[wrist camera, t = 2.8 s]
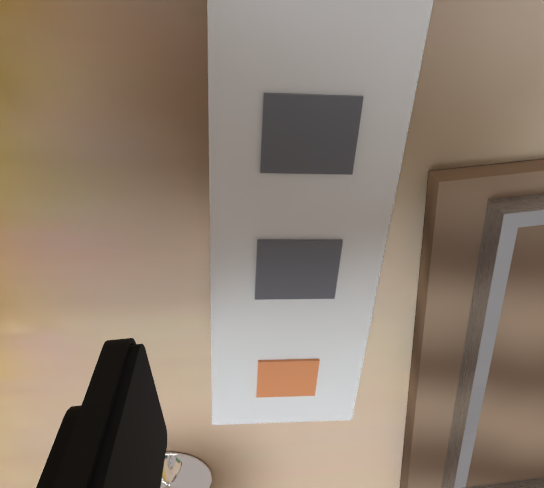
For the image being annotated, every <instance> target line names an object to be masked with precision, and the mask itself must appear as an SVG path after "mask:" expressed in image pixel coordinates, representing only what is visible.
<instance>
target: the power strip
mask: <svg viewBox="0 0 544 488" xmlns="http://www.w3.org/2000/svg"><path fill="white" fill-rule="evenodd" d="M433 1H434V0H207V23H208V112H209V201H210V289H211V378H212V425H225V424H253V423H281V422H310V421H338V420H352V416H353V411H354V406H355V401H356V396H357V391H358V385H359V380H360V375H361V370H362V365H363V360H364V355H365V349H366V344H367V339H368V334H369V329H370V324H371V319H372V314H373V308H374V303H375V298H376V293H377V288H378V283H379V278H380V273H381V267H382V262H383V257H384V252H385V247H386V242H387V237H388V231H389V226H390V221H391V216H392V211H393V206H394V201H395V196H396V190H397V185H398V180H399V175H400V170H401V165H402V160H403V155H404V149H405V144H406V139H407V134H408V129H409V124H410V119H411V113H412V108H413V103H414V98H415V93H416V88H417V83H418V78H419V72H420V67H421V62H422V57H423V52H424V47H425V42H426V37H427V31H428V26H429V21H430V16H431V11H432V6H433Z"/></svg>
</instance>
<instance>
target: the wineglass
mask: <svg viewBox="0 0 544 488" xmlns="http://www.w3.org/2000/svg"><path fill="white" fill-rule="evenodd" d="M211 483H212V474H211V471H210V469H209V468H208V467H207V465H206V464H205V463H204V462H202V461H201V460H199V459H197V458H196V457H193V456H191V455H187V454H183V453H176V452H166V454H165V461H164V467H163V474H162V480H161V487H160V488H210V486H211Z"/></svg>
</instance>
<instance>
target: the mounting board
mask: <svg viewBox="0 0 544 488" xmlns="http://www.w3.org/2000/svg"><path fill="white" fill-rule="evenodd" d="M400 488H544V159H539V160H529V161H520V162H511V163H501V164H492V165H483V166H473V167H464V168H455V169H445V170H436V171H429V175H428V186H427V197H426V208H425V219H424V230H423V241H422V252H421V263H420V274H419V285H418V296H417V307H416V318H415V329H414V339H413V350H412V361H411V372H410V383H409V394H408V405H407V416H406V427H405V438H404V449H403V460H402V471H401V482H400Z"/></svg>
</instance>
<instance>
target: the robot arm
mask: <svg viewBox="0 0 544 488" xmlns="http://www.w3.org/2000/svg"><path fill="white" fill-rule="evenodd" d="M166 447H167V430H166V425H165V421H164V418H163V414H162V410H161V406H160V403H159V399H158V395H157V391H156V388H155V384H154V380H153V376H152V373H151V369H150V365H149V361H148V358H147V354H146V350H145V347H144V345H143V344H136V342H135V340H134V339H133V338H128V339H118V340H108V341H106V342H105V343H104V345H103V348H102V350H101V353H100V356H99V359H98V362H97V364H96V367H95V370H94V373H93V376H92V378H91V381H90V384H89V387H88V389H87V392H86V395H85V398H84V401H83V403H82V406H73V407H70V408H69V409H68V410H67V412H66V414H65V416H64V418H63V421H62V423H61V426H60V428H59V431H58V433H57V436H56V439H55V441H54V444H53V446H52V449H51V451H50V454H49V457H48V459H47V462H46V464H45V467H44V469H43V472H42V474H41V477H40V480H39V482H38V485H37V487H36V488H160V487H161V480H162V474H163V467H164V461H165V454H166Z"/></svg>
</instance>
